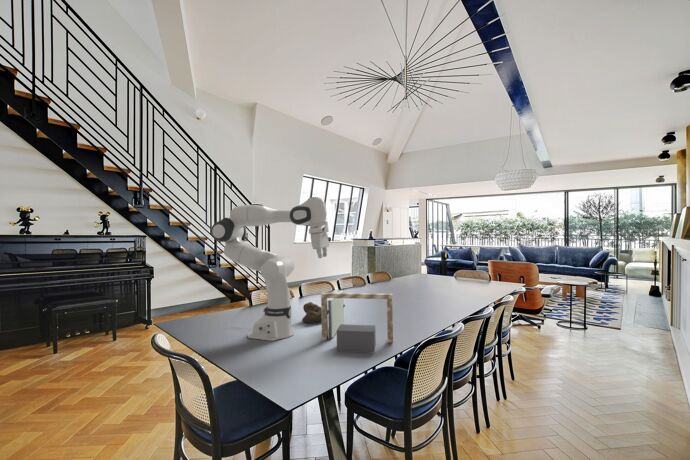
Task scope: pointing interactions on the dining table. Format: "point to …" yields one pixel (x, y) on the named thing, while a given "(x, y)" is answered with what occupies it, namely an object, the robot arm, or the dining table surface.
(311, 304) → the decorative stone
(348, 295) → the door frame
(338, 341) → the block
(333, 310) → the door
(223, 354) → the dining table surface
